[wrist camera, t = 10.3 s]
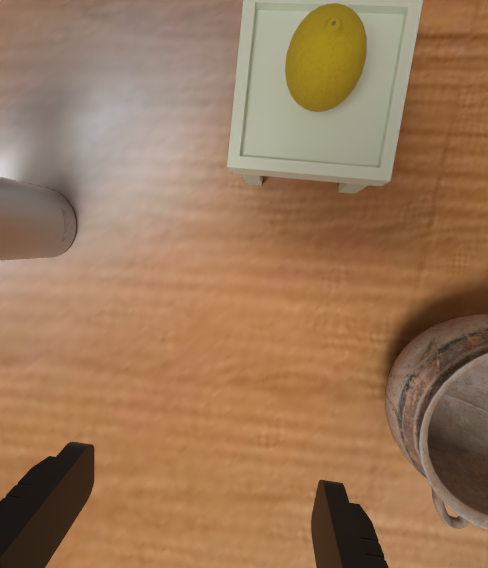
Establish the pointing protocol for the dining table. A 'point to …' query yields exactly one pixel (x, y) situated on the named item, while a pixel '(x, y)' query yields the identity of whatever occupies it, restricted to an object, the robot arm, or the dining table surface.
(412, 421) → the cooking pot
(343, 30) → the lemon
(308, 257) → the dining table surface
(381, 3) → the stool
